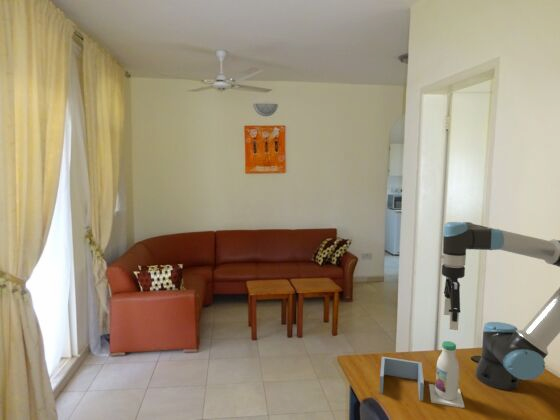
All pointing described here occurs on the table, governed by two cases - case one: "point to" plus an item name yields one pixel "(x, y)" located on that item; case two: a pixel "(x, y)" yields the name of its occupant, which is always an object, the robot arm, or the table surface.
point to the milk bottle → (447, 372)
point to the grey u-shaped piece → (402, 372)
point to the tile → (436, 399)
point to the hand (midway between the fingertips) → (450, 321)
